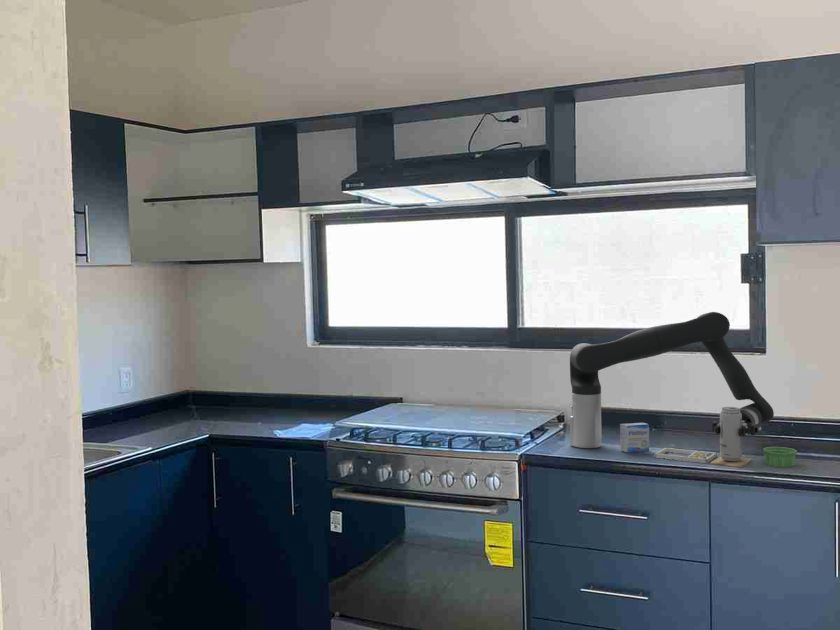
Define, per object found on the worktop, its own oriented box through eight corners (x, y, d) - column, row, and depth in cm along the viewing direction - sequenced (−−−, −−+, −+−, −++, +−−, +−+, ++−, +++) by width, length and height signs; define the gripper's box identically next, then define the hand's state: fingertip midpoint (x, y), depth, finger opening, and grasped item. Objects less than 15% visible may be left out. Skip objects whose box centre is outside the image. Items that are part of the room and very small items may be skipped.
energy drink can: (717, 456, 247) (717, 406, 246) (739, 456, 246) (739, 406, 245) (722, 461, 241) (722, 410, 240) (743, 461, 240) (743, 410, 239)
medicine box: (626, 453, 258) (626, 425, 258) (619, 450, 262) (619, 423, 262) (649, 451, 260) (649, 424, 260) (642, 448, 264) (642, 421, 264)
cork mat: (710, 464, 242) (710, 462, 242) (720, 456, 251) (720, 455, 251) (742, 467, 237) (742, 466, 237) (751, 460, 246) (751, 458, 246)
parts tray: (654, 457, 251) (654, 453, 251) (665, 451, 260) (665, 447, 260) (706, 463, 243) (706, 458, 242) (716, 456, 251) (716, 452, 251)
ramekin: (757, 465, 240) (757, 450, 240) (770, 460, 246) (770, 445, 246) (789, 469, 233) (789, 454, 233) (801, 464, 240) (801, 449, 240)
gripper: (718, 408, 259) (703, 416, 245) (767, 412, 251) (754, 420, 237) (718, 432, 259) (703, 441, 245) (767, 436, 251) (754, 447, 237)
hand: (728, 431), depth 241 cm, fingers closed on energy drink can, 6 cm apart
